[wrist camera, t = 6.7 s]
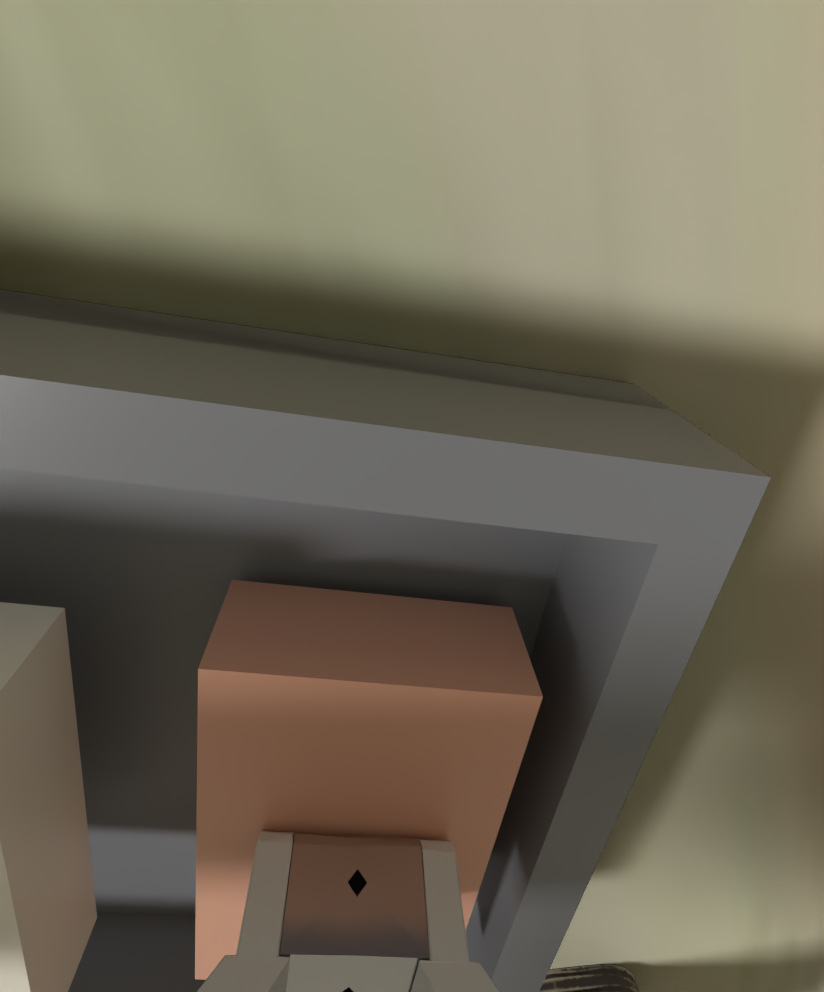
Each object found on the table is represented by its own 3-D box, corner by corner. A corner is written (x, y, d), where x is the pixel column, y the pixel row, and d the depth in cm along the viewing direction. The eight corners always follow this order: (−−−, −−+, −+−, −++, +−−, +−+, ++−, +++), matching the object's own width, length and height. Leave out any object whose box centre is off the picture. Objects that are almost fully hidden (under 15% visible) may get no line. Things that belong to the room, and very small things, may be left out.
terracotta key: (221, 866, 12) (195, 979, 10) (232, 579, 9) (198, 669, 8) (437, 875, 13) (448, 984, 11) (511, 607, 10) (543, 697, 8)
